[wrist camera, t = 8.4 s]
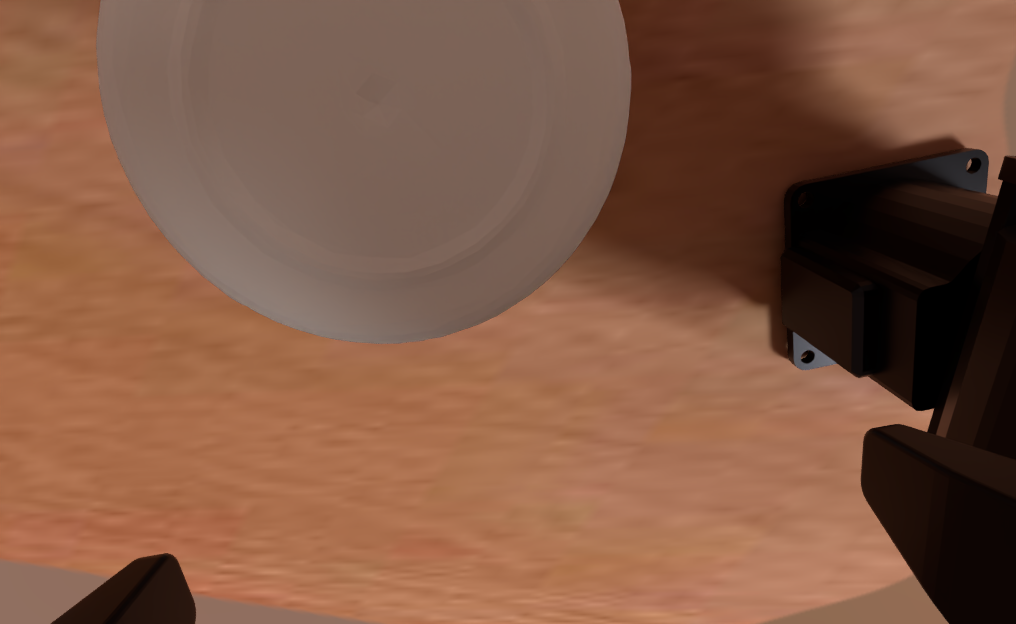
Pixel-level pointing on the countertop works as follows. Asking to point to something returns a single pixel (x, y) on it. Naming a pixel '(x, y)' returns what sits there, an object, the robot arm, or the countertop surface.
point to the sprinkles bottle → (369, 149)
